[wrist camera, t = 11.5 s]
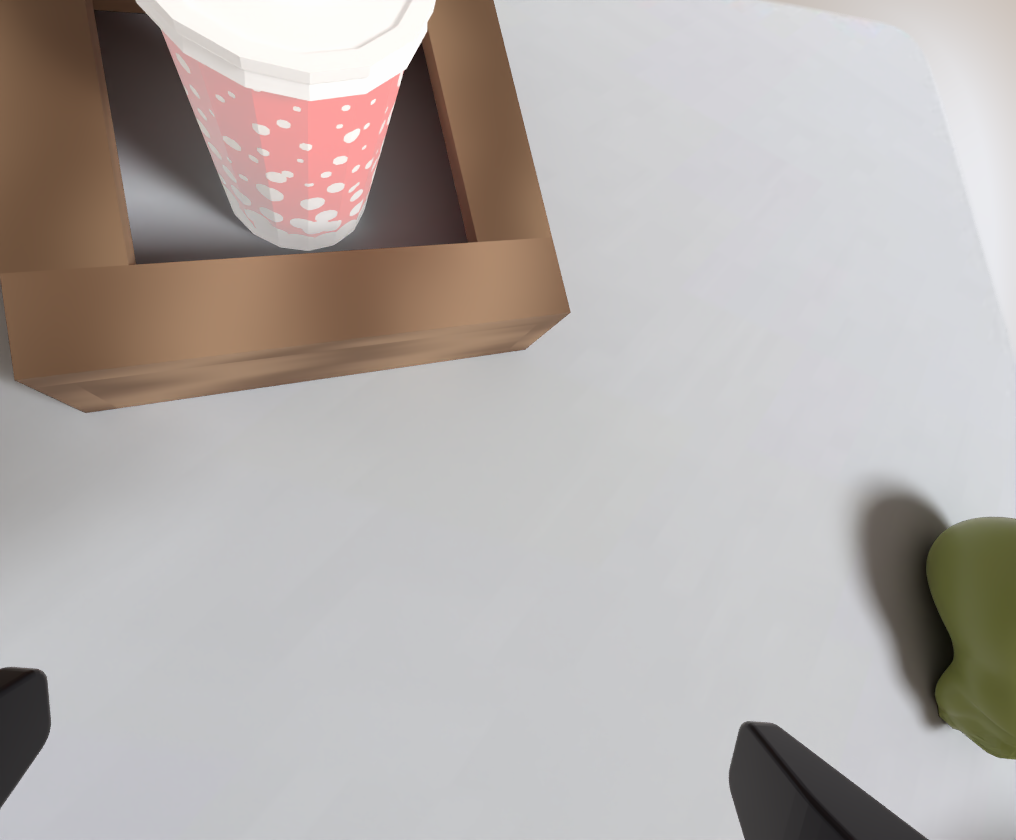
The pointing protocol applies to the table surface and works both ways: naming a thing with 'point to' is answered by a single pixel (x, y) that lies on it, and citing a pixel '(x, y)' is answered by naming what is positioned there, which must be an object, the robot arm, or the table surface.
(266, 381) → the walnut box
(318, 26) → the beverage cup
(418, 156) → the table surface
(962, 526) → the pear
